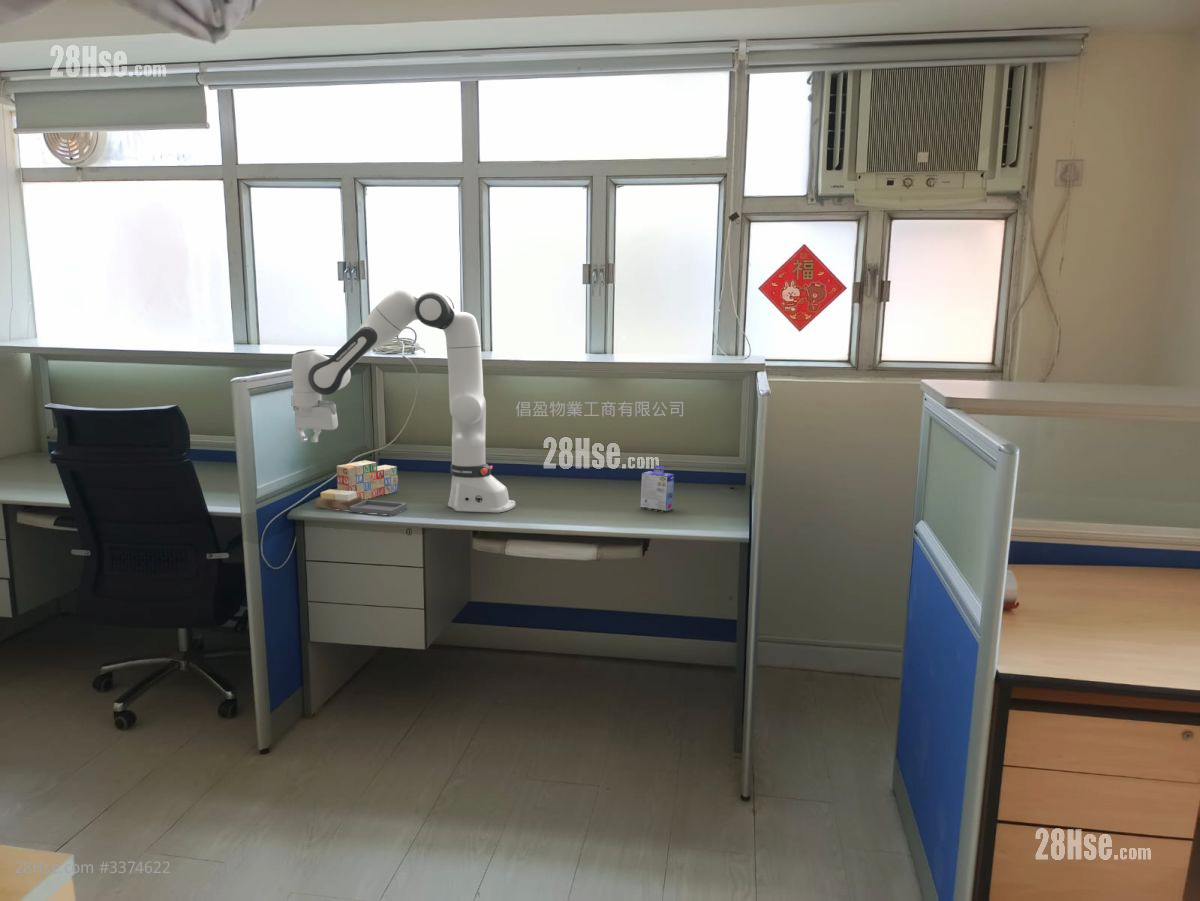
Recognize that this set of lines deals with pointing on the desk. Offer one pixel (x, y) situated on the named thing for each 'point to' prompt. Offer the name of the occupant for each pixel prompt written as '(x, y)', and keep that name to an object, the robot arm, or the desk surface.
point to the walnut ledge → (337, 503)
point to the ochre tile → (329, 494)
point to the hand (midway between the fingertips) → (309, 441)
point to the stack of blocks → (367, 478)
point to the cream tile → (345, 495)
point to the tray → (378, 507)
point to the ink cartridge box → (657, 489)
